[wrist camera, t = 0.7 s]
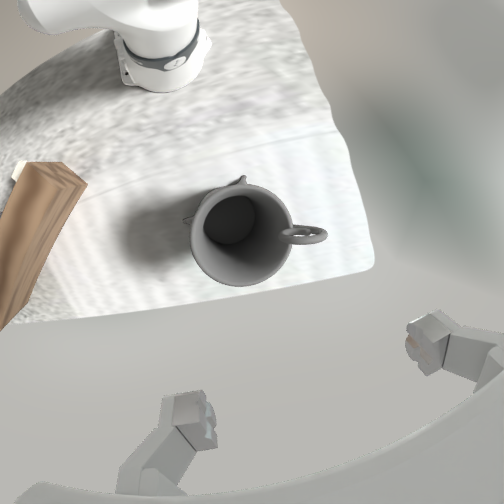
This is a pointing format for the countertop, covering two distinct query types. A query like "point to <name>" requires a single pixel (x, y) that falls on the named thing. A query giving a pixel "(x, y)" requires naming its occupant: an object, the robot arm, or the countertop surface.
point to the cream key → (18, 170)
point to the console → (32, 229)
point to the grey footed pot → (245, 234)
